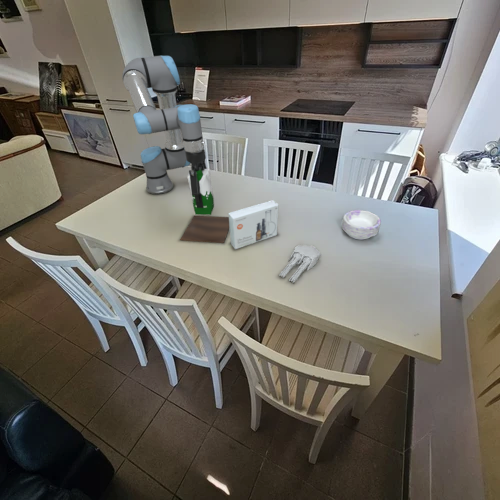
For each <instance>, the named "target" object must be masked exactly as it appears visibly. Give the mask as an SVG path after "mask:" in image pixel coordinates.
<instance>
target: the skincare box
mask: <svg viewBox="0 0 500 500" xmlns="http://www.w3.org/2000/svg"><path fill="white" fill-rule="evenodd" d="M279 207H280V205H279V203H277V202H276V201H275V200H274V199H271V200H269V201H268V200H267V201H264V202H261V203H258V204H254V205H250V206H248V207H247V206H246V207H244V208H241V209H237V210H233V211H231V212H228V213H227V216H228V217H229V238H230V239H229V240H230V245H231V247H233V249H234V250H238V249H240V248H244V247H246V246H249V245H252V244H255V243H258V242H261V241H263V240H266V239H267V240H268V239H269V238H273V237H275V236H277V235H278V225H279V224H278V222H279Z"/></svg>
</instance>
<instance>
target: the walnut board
mask: <svg viewBox="0 0 500 500" xmlns="http://www.w3.org/2000/svg"><path fill="white" fill-rule="evenodd" d="M229 232H230V229H229V216H213V215H193V216H192V218H191V220H190V222H189V224H188V225H187V226H186V229H185V230H184V232H183V234H182V235H181V237H180V239H179V240H180V241H184V242H199V243H212V244H213V243H214V244H225V242H226V238H227V236H228V233H229Z"/></svg>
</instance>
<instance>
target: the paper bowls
mask: <svg viewBox="0 0 500 500" xmlns="http://www.w3.org/2000/svg"><path fill="white" fill-rule="evenodd" d="M381 224H382V220H381V218H380V217H379V215H377V214H375V213H374V212H371V211H368V210H363V209H354V210H349V211H347V212H346V213H344V214H343V216H342V222H341V228H342V230H343V231H344V232H345V233H346V234H347V236H349V237H350V238H353V239H356V240H368V239H369V238H373V237H375V236H376V235H377V234H378V233H379V231H380V227H381Z"/></svg>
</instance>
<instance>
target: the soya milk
mask: <svg viewBox="0 0 500 500" xmlns="http://www.w3.org/2000/svg"><path fill="white" fill-rule="evenodd" d="M196 172H197V181H199V184H200V193H201V195H202V201H203V208H197V206H196V200H195V195H192V191H191V181H190V174H189V173H188V174H187V176H186V178H187V182H188V186H189V191H190V197H191V201H192V206H193V210H194V214H195V215H194V216H212V213H213V211H214V207H215V198H214V191H213V185H212V177H211V170H210V168H207V169H205V170H204V171H203V170H202V169H201V170H198V171H196Z"/></svg>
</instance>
